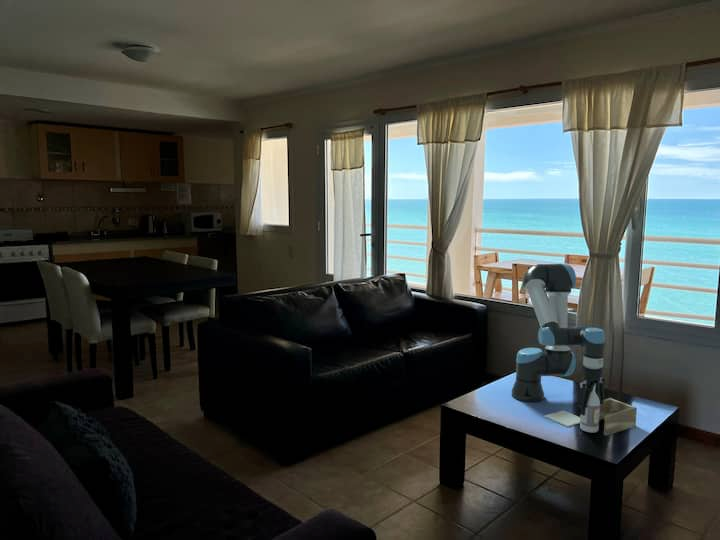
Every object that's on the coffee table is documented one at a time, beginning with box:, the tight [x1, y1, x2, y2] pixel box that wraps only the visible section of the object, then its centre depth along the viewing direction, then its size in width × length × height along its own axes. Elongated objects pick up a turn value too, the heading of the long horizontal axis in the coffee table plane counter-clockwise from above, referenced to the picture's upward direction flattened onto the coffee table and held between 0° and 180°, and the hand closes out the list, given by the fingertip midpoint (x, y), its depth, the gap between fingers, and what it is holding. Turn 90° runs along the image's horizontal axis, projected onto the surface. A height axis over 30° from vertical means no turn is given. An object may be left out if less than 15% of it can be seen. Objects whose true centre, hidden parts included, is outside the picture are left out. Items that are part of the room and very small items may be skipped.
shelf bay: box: [599, 397, 638, 436], centre depth 217 cm, size 12×19×8 cm, turn 119°
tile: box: [544, 409, 580, 428], centre depth 224 cm, size 12×12×1 cm
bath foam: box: [579, 384, 600, 434], centre depth 210 cm, size 7×7×20 cm
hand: (589, 420), depth 211 cm, fingers closed on bath foam, 7 cm apart
